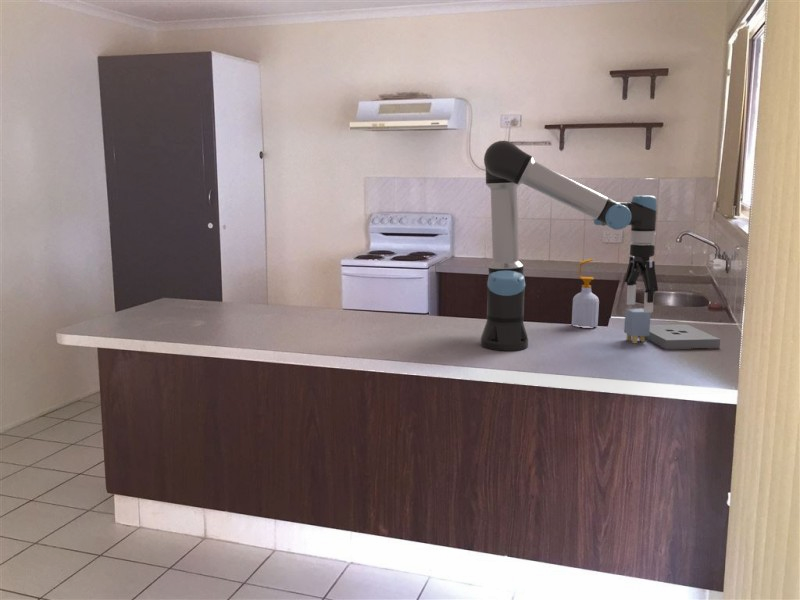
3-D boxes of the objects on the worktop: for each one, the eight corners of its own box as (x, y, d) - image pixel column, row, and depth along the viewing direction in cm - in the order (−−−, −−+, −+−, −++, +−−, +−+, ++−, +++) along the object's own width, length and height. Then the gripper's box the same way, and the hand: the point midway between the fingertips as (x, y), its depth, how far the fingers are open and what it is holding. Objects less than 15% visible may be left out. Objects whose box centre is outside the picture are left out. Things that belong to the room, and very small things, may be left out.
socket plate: (665, 349, 232) (666, 340, 232) (636, 333, 254) (637, 325, 253) (719, 348, 234) (720, 339, 234) (686, 332, 256) (686, 324, 255)
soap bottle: (598, 329, 260) (602, 260, 256) (571, 328, 262) (575, 259, 257) (596, 324, 269) (600, 257, 264) (571, 323, 270) (574, 256, 266)
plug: (630, 343, 239) (633, 312, 238) (623, 339, 245) (625, 308, 243) (648, 343, 240) (650, 311, 238) (640, 339, 246) (642, 308, 244)
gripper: (671, 247, 225) (667, 315, 229) (637, 239, 249) (634, 301, 253) (648, 248, 224) (644, 316, 228) (616, 240, 249) (613, 301, 252)
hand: (639, 308), depth 241 cm, fingers open, 13 cm apart
